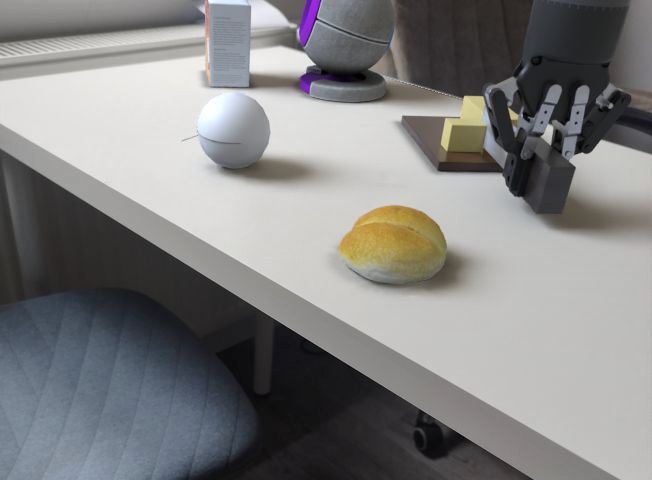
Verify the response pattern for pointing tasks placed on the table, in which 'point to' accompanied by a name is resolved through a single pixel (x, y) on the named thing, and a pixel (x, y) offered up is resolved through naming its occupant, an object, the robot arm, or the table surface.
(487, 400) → the table surface
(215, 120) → the seamed sphere
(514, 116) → the butter
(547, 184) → the knife
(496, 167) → the board
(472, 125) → the butter pat
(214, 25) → the small box
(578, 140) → the robot arm
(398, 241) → the bread roll
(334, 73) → the webcam
